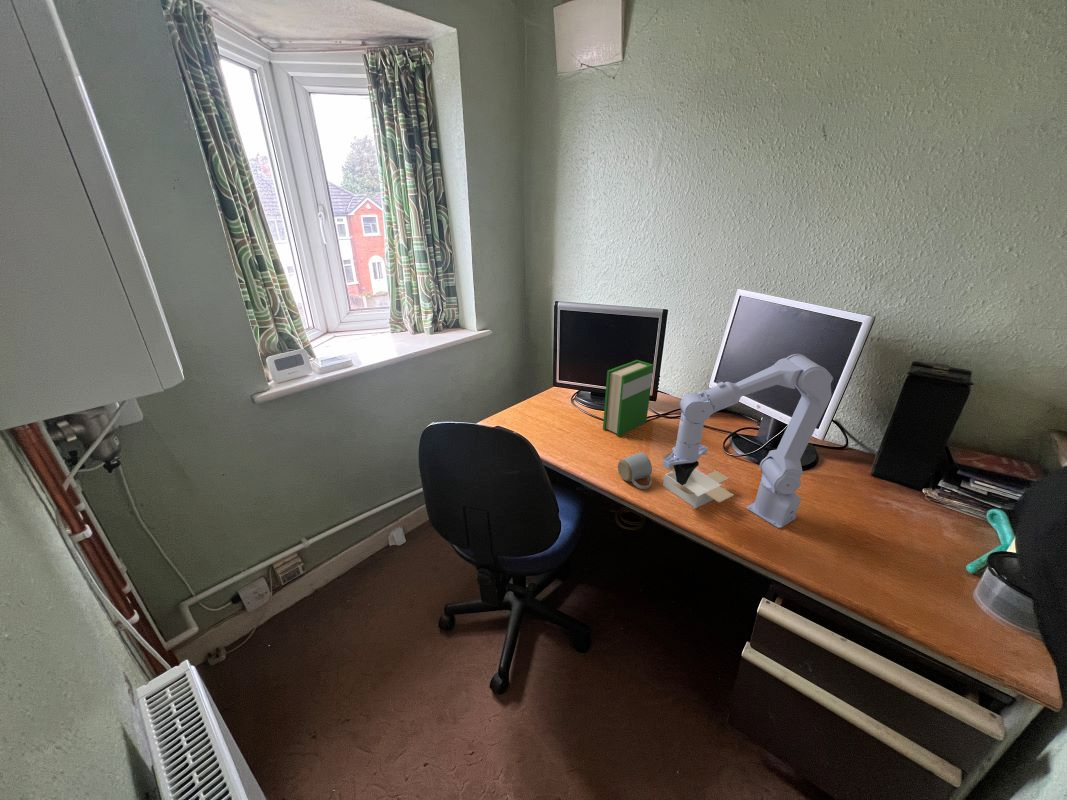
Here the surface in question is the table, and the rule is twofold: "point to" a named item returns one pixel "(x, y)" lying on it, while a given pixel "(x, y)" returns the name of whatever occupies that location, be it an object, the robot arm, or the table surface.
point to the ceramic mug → (635, 469)
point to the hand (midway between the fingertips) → (681, 482)
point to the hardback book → (627, 396)
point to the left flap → (683, 488)
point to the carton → (699, 487)
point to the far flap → (667, 457)
